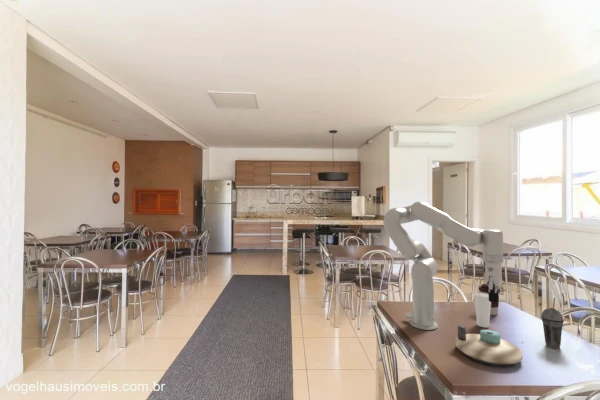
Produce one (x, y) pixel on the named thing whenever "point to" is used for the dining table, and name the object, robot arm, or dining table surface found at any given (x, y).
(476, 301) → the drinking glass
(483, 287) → the coffee cup
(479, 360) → the base
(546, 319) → the beverage cup
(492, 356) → the turntable plate
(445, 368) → the dining table surface
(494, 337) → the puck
